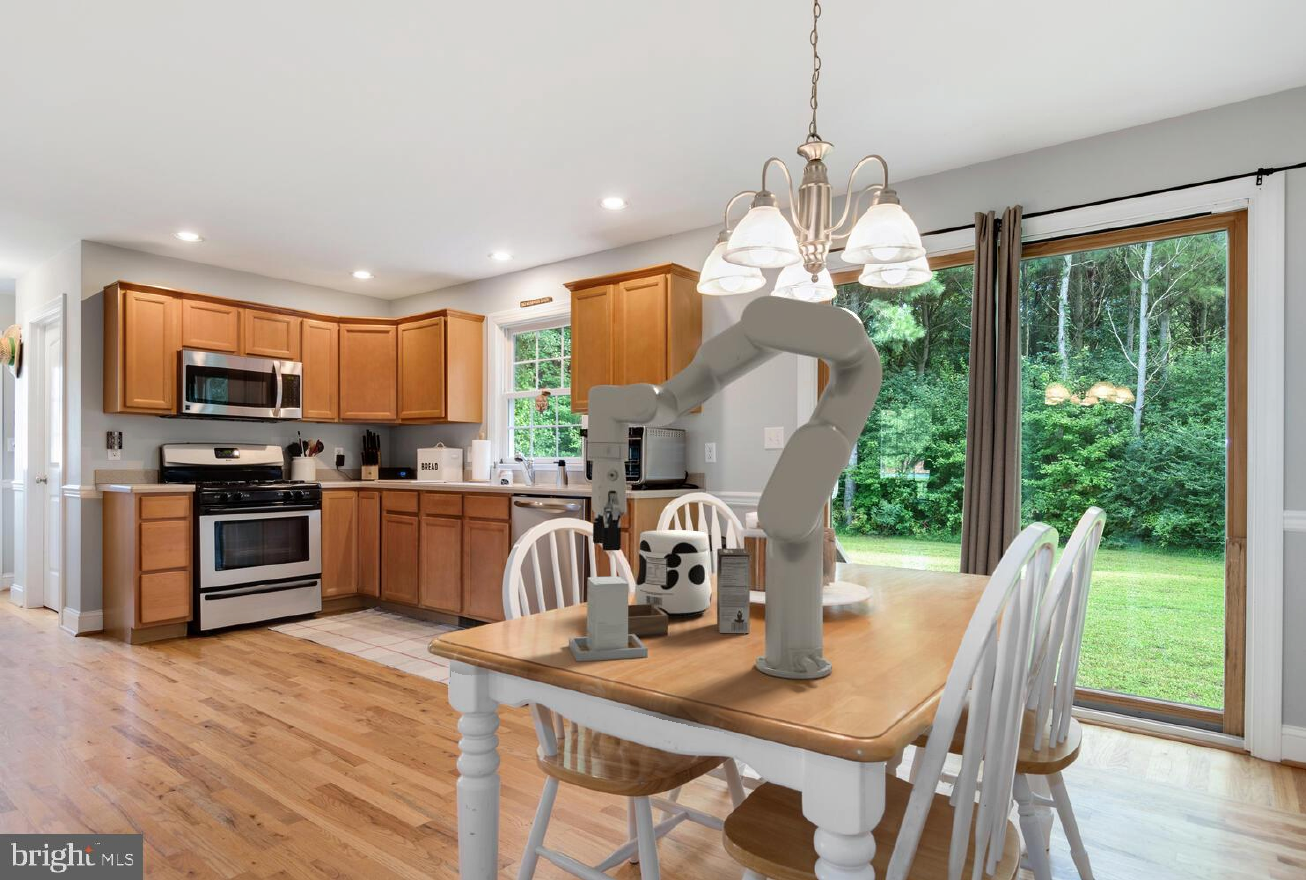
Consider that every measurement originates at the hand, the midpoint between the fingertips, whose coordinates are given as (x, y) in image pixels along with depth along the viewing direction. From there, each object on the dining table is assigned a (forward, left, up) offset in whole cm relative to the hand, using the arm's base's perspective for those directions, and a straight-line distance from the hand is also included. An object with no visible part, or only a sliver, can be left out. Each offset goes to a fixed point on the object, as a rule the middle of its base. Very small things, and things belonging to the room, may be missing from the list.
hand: (606, 546), depth 136 cm
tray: (0, 0, -19) cm, 19 cm away
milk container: (+28, -21, -19) cm, 40 cm away
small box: (0, 0, -19) cm, 19 cm away
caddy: (+14, -8, -19) cm, 25 cm away
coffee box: (+11, -29, -19) cm, 36 cm away
